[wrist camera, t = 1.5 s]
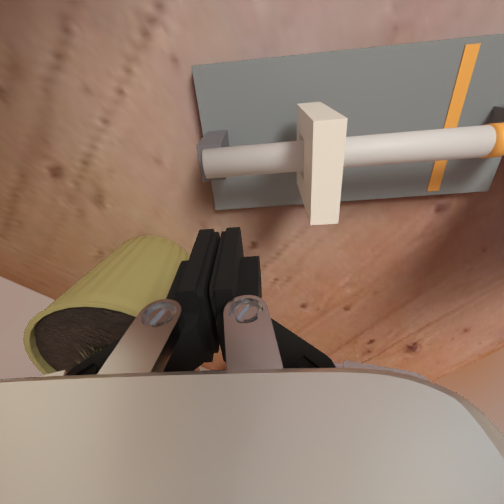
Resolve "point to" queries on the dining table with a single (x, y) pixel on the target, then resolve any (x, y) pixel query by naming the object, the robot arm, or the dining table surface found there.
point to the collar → (321, 160)
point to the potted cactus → (102, 303)
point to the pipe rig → (356, 120)
